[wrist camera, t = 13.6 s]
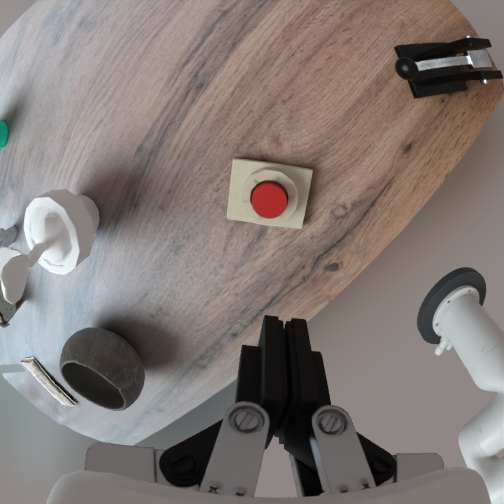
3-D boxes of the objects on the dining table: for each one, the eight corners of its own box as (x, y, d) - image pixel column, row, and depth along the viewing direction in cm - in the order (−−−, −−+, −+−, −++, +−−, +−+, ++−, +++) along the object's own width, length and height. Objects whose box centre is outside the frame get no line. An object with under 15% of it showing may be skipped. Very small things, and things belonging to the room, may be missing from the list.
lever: (400, 82, 24) (400, 81, 22) (391, 60, 23) (390, 58, 21) (487, 71, 16) (494, 70, 14) (479, 48, 15) (485, 46, 13)
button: (288, 184, 32) (289, 187, 30) (282, 215, 33) (283, 221, 32) (254, 179, 32) (254, 182, 30) (250, 211, 33) (249, 216, 31)
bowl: (154, 329, 47) (131, 381, 35) (152, 382, 54) (137, 426, 43) (76, 300, 45) (43, 341, 34) (86, 356, 53) (64, 394, 42)
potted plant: (118, 187, 36) (-13, 269, 13) (110, 255, 40) (17, 361, 18) (58, 171, 34) (-63, 228, 12) (56, 233, 39) (-40, 312, 17)
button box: (311, 168, 34) (316, 173, 31) (300, 225, 37) (303, 235, 34) (234, 157, 34) (231, 160, 30) (227, 215, 37) (224, 224, 34)
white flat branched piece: (13, 242, 41) (-10, 259, 33) (9, 237, 40) (-14, 253, 33) (21, 221, 38) (-5, 237, 31) (17, 215, 38) (-10, 230, 31)
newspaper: (79, 403, 66) (76, 408, 64) (63, 399, 69) (60, 404, 67) (34, 356, 57) (30, 361, 55) (22, 355, 60) (18, 359, 58)
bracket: (414, 98, 28) (470, 94, 16) (393, 47, 25) (442, 23, 13) (463, 90, 26) (518, 89, 14) (445, 43, 23) (497, 30, 11)
